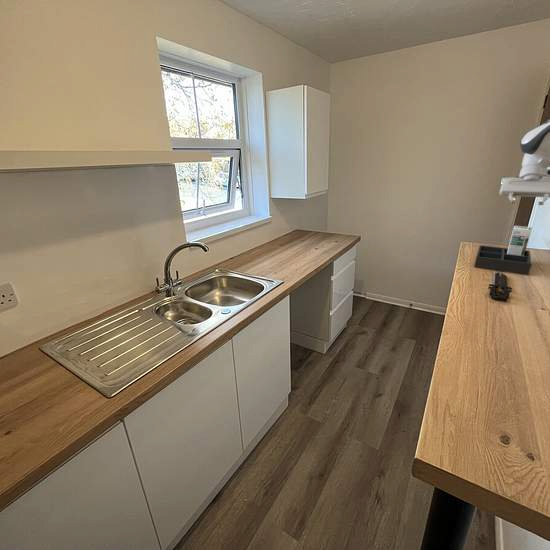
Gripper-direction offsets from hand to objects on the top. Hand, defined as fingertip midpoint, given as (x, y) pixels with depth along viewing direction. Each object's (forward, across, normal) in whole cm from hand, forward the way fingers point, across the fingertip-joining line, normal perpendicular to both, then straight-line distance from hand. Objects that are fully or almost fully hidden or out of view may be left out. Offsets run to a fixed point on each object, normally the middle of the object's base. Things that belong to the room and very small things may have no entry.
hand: (526, 203), depth 125 cm
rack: (+28, -4, +4) cm, 28 cm away
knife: (+45, -4, -13) cm, 47 cm away
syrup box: (+24, 0, +7) cm, 25 cm away
